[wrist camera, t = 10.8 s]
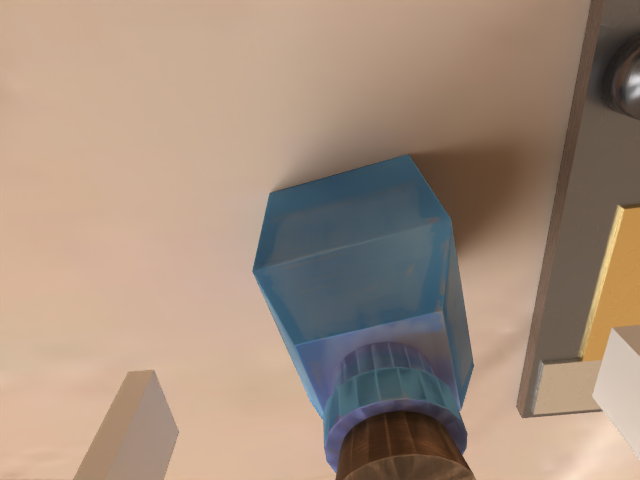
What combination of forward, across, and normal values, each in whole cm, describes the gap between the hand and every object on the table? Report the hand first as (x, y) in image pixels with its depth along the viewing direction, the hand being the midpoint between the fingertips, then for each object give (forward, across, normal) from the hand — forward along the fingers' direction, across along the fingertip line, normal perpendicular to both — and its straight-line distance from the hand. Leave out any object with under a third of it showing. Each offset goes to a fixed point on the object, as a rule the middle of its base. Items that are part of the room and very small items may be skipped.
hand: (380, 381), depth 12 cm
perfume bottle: (+8, 0, +1) cm, 9 cm away
